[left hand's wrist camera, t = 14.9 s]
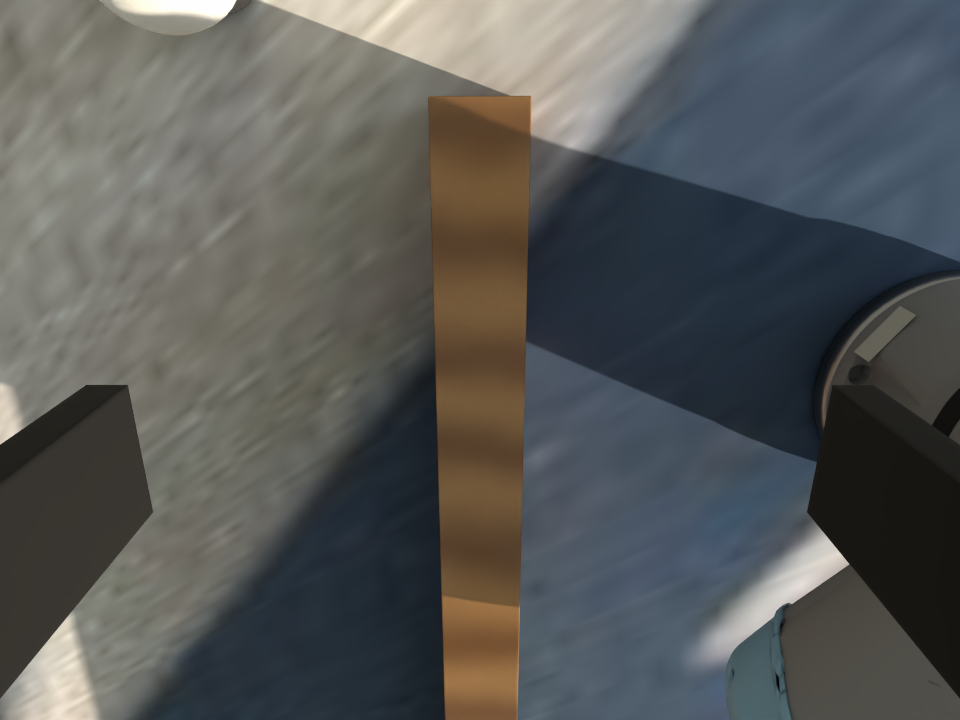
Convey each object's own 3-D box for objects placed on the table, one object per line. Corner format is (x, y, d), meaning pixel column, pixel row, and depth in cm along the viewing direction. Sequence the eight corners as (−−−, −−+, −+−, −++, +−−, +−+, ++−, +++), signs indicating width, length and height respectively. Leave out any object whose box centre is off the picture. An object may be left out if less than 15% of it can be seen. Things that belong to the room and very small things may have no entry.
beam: (438, 99, 38) (428, 96, 30) (521, 99, 38) (531, 95, 30) (456, 919, 63) (453, 1032, 55) (506, 919, 63) (509, 1032, 55)
